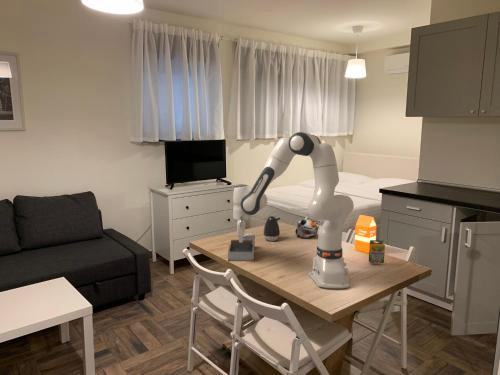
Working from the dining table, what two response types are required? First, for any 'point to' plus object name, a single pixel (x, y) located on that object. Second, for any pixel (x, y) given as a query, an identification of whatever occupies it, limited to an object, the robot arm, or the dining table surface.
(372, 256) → the crayon box
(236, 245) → the metal drawer
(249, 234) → the medicine box
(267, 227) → the pump dispenser
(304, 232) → the lucky cat figurine
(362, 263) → the dining table surface
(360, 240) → the orange juice
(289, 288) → the dining table surface
